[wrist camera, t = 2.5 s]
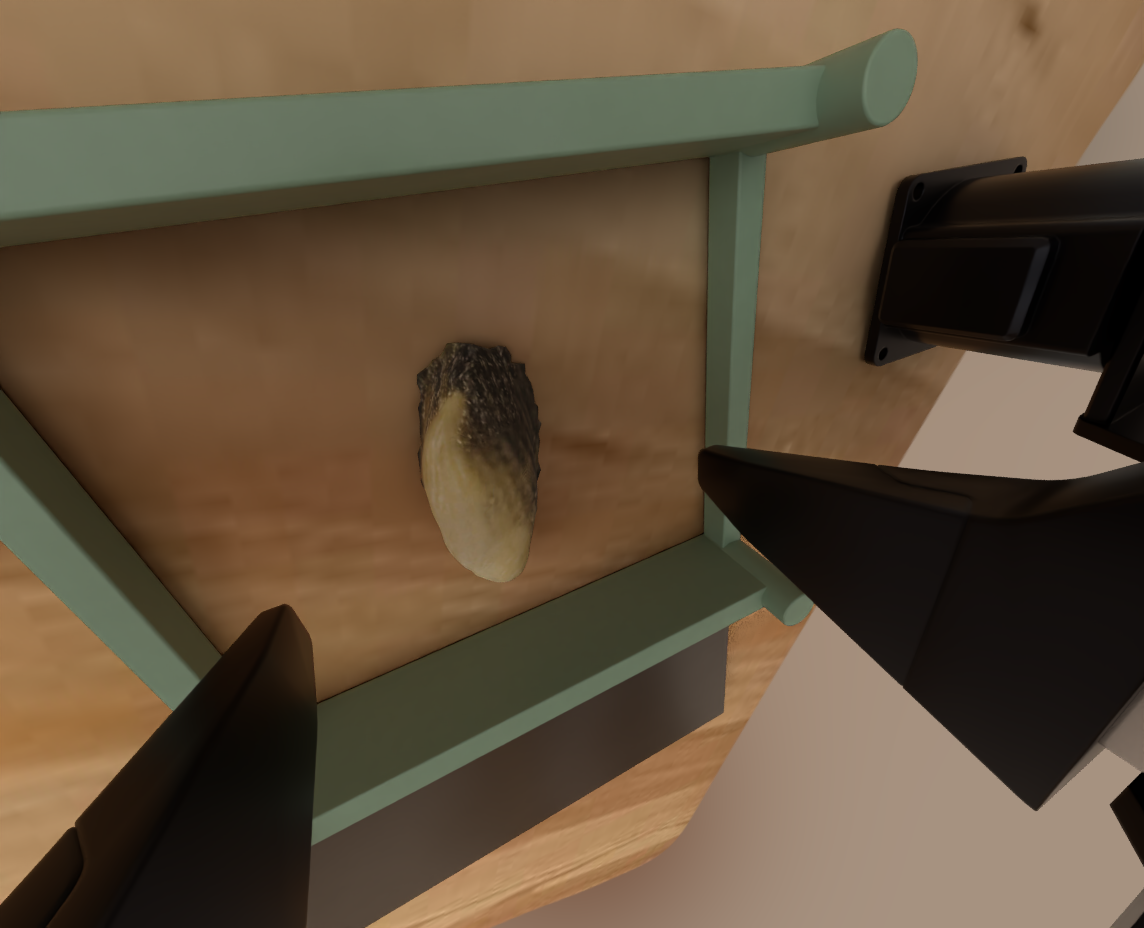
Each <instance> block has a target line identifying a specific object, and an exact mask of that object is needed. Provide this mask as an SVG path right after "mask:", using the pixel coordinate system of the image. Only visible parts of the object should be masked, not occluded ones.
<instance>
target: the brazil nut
mask: <svg viewBox="0 0 1144 928" xmlns="http://www.w3.org/2000/svg"><path fill="white" fill-rule="evenodd" d="M417 384H418V387H419V389H420V393H421V401H420V404H419V407H418V410H419V416H420V435H421V446H420V449H419V452H418V458H419V466H420V473H421V483H422V485H423V487H424V489H425V491H426V495H427V498H428V501H429V504H430V508H431V511H432V514H433V516H434V518H435V520H436V522H437V524H438V526H439V528H440V531H441V533H442V536H443V539H444V543H445V545H446V547H447V548H448V550H449V552H450V553H451V554H452V555H453V556H454V557H455V559H456V560H457V561H458V562H459V563H460V564H462V565H463V566H464V567H465V568H466V569H469V570H471V571H472V572H473V573H474V574H475V575H477V576H478V577H482V578H485V579H487V580H490V581H495V582H508V581H511V580H513V579H515V578H516V577H517V576H519V575H520V573H521V572H522V571H523V569H524V567H525V565H526V562H527V559H528V555H529V549H530V542H531V538H532V533H533V527H534V521H535V515H536V511H537V480H538V477H539V474H540V471H541V469H540V466H539V463H538V452H539V443H540V440H539V430H540V426H541V422H540V421H539V420H538V406H537V405H536V404H535V400H534V394H533V389H532V386H531V382H530V381H529V379H528V377H527V376H526V374H525V364H518V363H511V355H510V353H509V351H508V350H507V348H506V347H504V346H496V347H494V348H491V349H487V348H484V347H481V346H477V345H474V344H469V343H450V344H447V345H446V347H445V349H444V350H443V352H442V354H441V355H440V356H439V357H438V358H436V359H434V360H433V361H432V362H431V363H430V365H429V366H428V367H427V368H425V369H424V370H423V371H421V372H420V373H419V374H417Z"/></svg>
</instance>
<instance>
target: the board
mask: <svg viewBox="0 0 1144 928" xmlns="http://www.w3.org/2000/svg"><path fill="white" fill-rule="evenodd" d="M728 629H729V626H727V627H725V628H723V629H721V630H719V631H717V632H716V633H714V634H712V635H710V636H708V637H706V638H704V639H702V640H700V641H699V642H697V643H695V644H693V645H691V646H689V647H687V648H685V649H683V650H681V651H680V652H678V653H676V654H674V655H672V656H670V657H668V658H666V659H664V660H663V661H661V662H659V663H657V664H655V665H653V666H651V667H649V668H647V669H646V670H644V671H642V672H640V673H638V674H636V675H634V676H632V677H630V678H628V679H627V680H625V681H623V682H621V683H619V684H617V685H615V686H613V687H611V688H610V689H608V690H606V691H604V692H602V693H600V694H598V695H596V696H594V697H593V698H591V699H589V700H587V701H585V702H583V703H581V704H579V705H577V706H575V707H574V708H572V709H570V710H568V711H566V712H564V713H562V714H560V715H558V716H557V717H555V718H553V719H551V720H549V721H547V722H545V723H543V724H541V725H539V726H538V727H536V728H534V729H532V730H530V731H528V732H526V733H524V734H522V735H521V736H519V737H517V738H515V739H513V740H511V741H509V742H507V743H505V744H504V745H502V746H500V747H498V748H496V749H494V750H492V751H490V752H488V753H486V754H485V755H483V756H481V757H479V758H477V759H475V760H473V761H471V762H469V763H468V764H466V765H464V766H462V767H460V768H458V769H456V770H454V771H452V772H451V773H449V774H447V775H445V776H443V777H441V778H439V779H437V780H435V781H433V782H432V783H430V784H428V785H426V786H424V787H422V788H420V789H418V790H416V791H415V792H413V793H411V794H409V795H407V796H405V797H403V798H401V799H399V800H398V801H396V802H394V803H392V804H390V805H388V806H386V807H384V808H382V809H380V810H379V811H377V812H375V813H373V814H371V815H369V816H367V817H365V818H363V819H362V820H360V821H358V822H356V823H354V824H352V825H350V826H348V827H346V828H344V829H343V830H341V831H339V832H337V833H335V834H333V835H331V836H329V837H327V838H326V839H324V840H322V841H320V842H318V843H316V844H314V845H312V846H311V858H310V876H309V894H308V911H307V928H365V927H367V926H368V925H370V924H372V923H373V922H375V921H377V920H378V919H380V918H382V917H383V916H385V915H387V914H388V913H390V912H392V911H393V910H395V909H397V908H399V907H400V906H402V905H404V904H405V903H407V902H409V901H410V900H412V899H414V898H415V897H417V896H419V895H420V894H422V893H424V892H425V891H427V890H429V889H430V888H432V887H434V886H435V885H437V884H439V883H440V882H442V881H444V880H445V879H447V878H449V877H450V876H452V875H454V874H455V873H457V872H459V871H460V870H462V869H464V868H465V867H467V866H469V865H470V864H472V863H474V862H475V861H477V860H479V859H480V858H482V857H484V856H485V855H487V854H489V853H490V852H492V851H494V850H495V849H497V848H499V847H500V846H502V845H504V844H505V843H507V842H509V841H510V840H512V839H514V838H515V837H517V836H519V835H520V834H522V833H524V832H525V831H527V830H529V829H530V828H532V827H534V826H535V825H537V824H539V823H540V822H542V821H544V820H545V819H547V818H549V817H550V816H552V815H554V814H555V813H557V812H559V811H560V810H562V809H564V808H565V807H567V806H569V805H570V804H572V803H574V802H575V801H577V800H579V799H580V798H582V797H584V796H585V795H587V794H589V793H590V792H592V791H594V790H595V789H597V788H599V787H600V786H602V785H604V784H605V783H607V782H609V781H610V780H612V779H614V778H615V777H617V776H619V775H620V774H622V773H624V772H625V771H627V770H629V769H630V768H632V767H634V766H635V765H637V764H639V763H640V762H642V761H644V760H645V759H647V758H649V757H650V756H652V755H654V754H655V753H657V752H659V751H660V750H662V749H664V748H665V747H667V746H669V745H670V744H672V743H674V742H675V741H677V740H679V739H680V738H682V737H684V736H685V735H687V734H689V733H690V732H692V731H694V730H695V729H697V728H699V727H700V726H702V725H704V724H705V723H707V722H709V721H710V720H712V719H714V718H715V717H717V716H719V715H720V714H722V713H723V712H724V697H725V680H726V663H727V646H728Z"/></svg>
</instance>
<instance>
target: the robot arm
mask: <svg viewBox="0 0 1144 928" xmlns="http://www.w3.org/2000/svg"><path fill="white" fill-rule="evenodd" d="M1026 167H1027V160H1026V158H1025V157H1016V158H1009V159H1003V160H997V161H991V162H985V163H980V164H974V165H968V166H962V167H957V168H951V169H945V170H939V171H933V172H928V173H922V174H916V175H910V176H908V177H906V178H905V179H904V180H903V181H902V182H901V184H900V186H899V188H898V190H897V194H896V198H895V203H894V208H893V213H892V218H891V223H890V228H889V234H888V239H887V244H886V249H885V254H884V259H883V264H882V269H881V274H880V279H879V284H878V289H877V295H876V300H875V305H874V310H873V315H872V320H871V325H870V330H869V335H868V340H867V345H866V350H865V358H864V359H865V362H866V363H867V364H870V365H874V366H882V365H885V364H888V363H891V362H893V361H896V360H899V359H902V358H905V357H907V356H910V355H913V354H916V353H919V352H922V351H924V350H927V349H930V348H933V347H936V346H943V347H949V348H955V349H961V350H967V351H974V352H980V353H986V354H992V355H998V356H1004V357H1010V358H1017V359H1022V360H1028V361H1034V362H1041V363H1046V364H1053V365H1059V366H1065V367H1070V368H1077V369H1083V370H1089V371H1095V372H1101V373H1102V374H1101V377H1100V379H1099V381H1098V384H1097V386H1096V389H1095V391H1094V393H1093V395H1092V397H1091V400H1090V402H1089V405H1088V407H1087V409H1086V411H1085V413H1083V414H1082V415H1080V416H1079V418H1078V420H1077V423H1076V425H1075V427H1074V430H1073V432H1074V433H1075V434H1077V435H1079V436H1081V437H1084V438H1086V439H1088V440H1091V441H1093V442H1095V443H1097V444H1100V445H1102V446H1105V447H1107V448H1109V449H1111V450H1114V451H1116V452H1118V453H1121V454H1123V455H1125V456H1127V457H1130V458H1132V459H1135V460H1137V461H1139V462H1141V463H1138V464H1134V465H1130V466H1126V467H1123V468H1119V469H1115V470H1112V471H1108V472H1104V473H1101V474H1097V475H1093V476H1088V477H1082V478H1077V479H1067V480H1032V479H1020V478H1008V477H995V476H984V475H971V474H960V473H949V472H938V471H927V470H919V469H910V468H901V467H893V466H885V465H878V466H877V465H875V464H868V463H860V462H852V461H844V460H836V459H828V458H820V457H812V456H804V455H796V454H788V453H780V452H772V451H764V450H756V449H748V448H740V447H732V446H724V445H712V446H709V447H706V448H704V449H702V450H700V452H699V454H698V481H699V484H700V487H701V488H702V490H703V491H704V492H705V493H706V494H707V495H708V497H709V498H710V499H711V500H712V501H713V502H714V504H715V505H716V506H717V507H718V508H719V509H720V511H721V512H722V513H723V514H724V515H725V516H726V518H727V519H728V520H729V521H730V522H731V523H732V525H733V526H734V527H735V528H736V529H737V530H738V531H739V532H740V533H741V534H742V535H743V536H744V537H745V538H746V539H747V540H748V541H749V542H750V543H751V544H752V545H753V546H754V547H755V548H756V549H757V550H758V551H759V552H761V553H762V554H763V555H764V556H765V557H766V558H767V559H768V560H769V561H770V562H771V563H772V564H773V565H774V566H775V567H776V568H777V569H778V570H780V571H781V572H782V573H783V574H784V575H785V576H786V577H787V578H788V579H789V580H790V581H791V582H792V583H793V584H794V585H795V586H796V587H797V588H799V589H800V590H801V591H802V592H803V593H804V594H805V595H806V596H807V597H808V598H809V599H810V600H811V601H812V602H813V603H814V604H815V605H816V606H818V607H819V608H820V609H821V610H822V611H823V612H824V613H825V614H826V615H827V616H828V617H829V618H830V619H831V620H832V621H834V623H836V624H837V625H838V626H839V627H840V628H841V629H842V630H843V631H844V632H845V633H846V634H847V635H848V636H849V637H850V638H851V639H852V640H853V641H855V642H856V643H857V644H858V645H859V646H860V647H861V648H862V649H863V650H864V651H865V652H866V653H867V654H868V655H869V656H870V657H872V658H873V659H874V660H875V661H876V662H877V663H878V664H879V665H880V666H881V667H882V668H883V669H884V670H885V671H886V672H887V673H888V674H889V675H890V676H891V677H893V678H894V679H895V680H896V681H897V682H898V683H899V684H900V685H902V686H903V688H904V689H905V690H906V691H907V692H908V693H909V694H910V695H911V696H912V697H913V698H914V699H915V700H916V701H918V702H919V703H920V704H921V705H922V706H923V707H924V708H925V709H926V710H927V711H928V712H929V713H930V714H931V715H932V716H933V717H934V718H935V719H937V720H938V721H939V722H940V723H941V724H942V725H943V726H944V727H945V728H946V729H947V730H948V731H949V732H950V733H951V734H952V735H953V736H954V737H955V738H957V739H958V740H959V741H960V742H961V743H962V744H963V745H964V746H965V747H966V748H967V749H968V750H969V751H970V752H971V753H972V754H973V755H974V756H976V757H977V758H978V759H979V760H980V761H981V762H982V763H983V764H984V765H985V766H986V767H987V768H988V769H989V770H990V771H991V772H992V773H993V774H994V775H996V776H997V777H998V778H999V779H1000V780H1001V781H1002V782H1003V783H1004V784H1005V785H1006V786H1007V787H1008V788H1009V789H1010V790H1012V791H1013V793H1015V794H1016V795H1017V796H1018V797H1019V798H1020V799H1021V800H1022V801H1024V803H1026V804H1027V805H1028V806H1029V807H1031V808H1032V809H1033V810H1035V811H1038V810H1039V809H1040V808H1041V807H1042V806H1043V805H1044V804H1045V803H1046V802H1047V801H1049V800H1050V799H1051V798H1052V797H1053V796H1054V795H1055V794H1056V793H1057V792H1058V791H1059V790H1060V789H1062V788H1063V787H1064V786H1065V785H1066V784H1067V783H1068V782H1069V781H1070V780H1071V779H1072V778H1073V777H1075V776H1076V775H1077V774H1078V773H1079V772H1080V771H1081V770H1082V769H1083V768H1084V767H1085V766H1086V765H1087V764H1089V763H1090V762H1091V761H1092V760H1093V759H1094V758H1095V757H1096V756H1097V755H1098V754H1099V753H1100V752H1101V751H1103V750H1104V749H1105V748H1107V749H1108V750H1110V751H1111V752H1113V753H1114V754H1116V755H1117V756H1119V757H1120V758H1122V759H1123V760H1125V761H1126V762H1128V763H1129V764H1131V765H1132V766H1134V767H1135V768H1137V769H1138V770H1140V771H1141V774H1139V775H1138V776H1137V777H1136V778H1135V780H1133V781H1132V782H1131V783H1130V785H1128V786H1127V787H1126V788H1125V789H1124V790H1123V792H1121V794H1120V795H1119V796H1118V797H1117V798H1116V799H1115V800H1114V801H1113V802H1112V803H1111V804H1110V806H1111V808H1112V810H1113V812H1114V814H1115V815H1116V817H1117V819H1118V821H1119V823H1120V825H1121V826H1122V828H1123V830H1124V832H1125V834H1126V835H1127V837H1128V839H1129V841H1130V843H1131V845H1132V846H1133V848H1134V850H1135V852H1136V854H1137V855H1138V857H1139V859H1140V861H1141V863H1142V864H1143V866H1144V158H1143V159H1134V160H1126V161H1118V162H1109V163H1100V164H1091V165H1084V166H1074V167H1065V168H1057V169H1048V170H1040V171H1031V172H1026ZM317 730H318V719H317V702H316V688H315V674H314V661H313V647H312V641H311V638H310V635H309V633H308V631H307V630H306V628H305V627H304V625H303V624H302V622H301V621H300V619H299V618H298V616H297V615H296V613H295V611H294V610H293V609H292V607H290V606H289V605H287V604H282V605H280V606H277V607H274V608H271V609H269V610H266V611H263V612H262V613H260V614H259V615H258V616H257V617H256V618H255V620H254V621H253V622H252V623H251V624H250V625H249V626H248V627H247V629H246V630H245V631H244V632H243V633H242V634H241V635H240V637H239V638H238V639H237V640H236V641H235V642H234V643H233V644H232V646H231V647H230V648H229V649H228V650H227V651H226V652H225V653H224V655H223V656H222V657H221V658H220V659H219V660H218V661H217V662H216V664H215V665H214V666H213V667H212V668H211V669H210V670H209V671H208V673H207V674H206V675H205V676H204V677H203V678H202V679H201V680H200V682H199V683H198V684H197V685H196V686H195V687H194V688H193V690H192V691H191V692H190V693H189V694H188V695H187V696H186V697H185V699H184V700H183V701H182V702H181V703H180V704H179V705H178V706H177V708H176V709H175V710H174V711H173V712H172V713H171V714H170V715H169V717H168V718H167V719H166V720H165V721H164V722H163V723H162V724H161V726H160V727H159V728H158V729H157V730H156V731H155V732H154V733H153V735H152V736H151V737H150V738H149V739H148V740H147V741H146V742H145V744H144V745H143V746H142V747H141V748H140V749H139V750H138V751H137V753H136V754H135V755H134V756H133V757H132V758H131V759H130V760H129V762H128V763H127V764H126V765H125V766H124V767H123V768H122V769H121V771H120V772H119V773H118V774H117V775H116V776H115V777H114V779H113V780H112V781H111V782H110V783H109V784H108V785H107V786H106V788H105V789H104V790H103V791H102V792H101V793H100V794H99V795H98V797H97V798H96V799H95V800H94V801H93V802H92V803H91V804H90V806H89V807H88V808H87V809H86V810H85V811H84V812H83V813H82V815H81V816H80V817H79V818H78V819H77V820H76V822H75V827H72V828H70V829H68V830H67V831H66V832H65V833H64V835H63V836H62V837H61V838H60V839H59V840H58V841H57V843H56V844H55V845H54V846H53V847H52V848H51V849H50V851H49V852H48V853H47V854H46V855H45V856H44V857H43V858H42V860H41V861H40V862H39V863H38V864H37V865H36V866H35V867H34V868H33V870H32V871H31V872H30V873H29V874H28V875H27V876H26V877H25V878H24V879H23V881H22V882H21V883H20V884H19V885H18V886H17V887H16V888H15V889H14V890H13V892H12V893H11V894H10V895H9V896H8V897H7V898H6V899H5V900H4V901H3V903H2V904H1V905H0V928H307V911H308V894H309V876H310V858H311V840H312V823H313V805H314V787H315V769H316V752H317ZM1110 928H1144V889H1143V890H1142V891H1141V892H1140V893H1139V895H1138V896H1137V897H1136V898H1135V899H1134V900H1133V902H1132V903H1131V904H1130V905H1129V906H1128V907H1127V909H1126V910H1125V911H1124V912H1123V913H1122V914H1121V915H1120V917H1119V918H1118V919H1117V920H1116V921H1115V922H1114V924H1113V925H1112V926H1111V927H1110Z"/></svg>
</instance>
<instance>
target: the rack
mask: <svg viewBox="0 0 1144 928" xmlns="http://www.w3.org/2000/svg"><path fill="white" fill-rule="evenodd" d="M917 63H918V58H917V49H916V45H915V42H914V39H913V37H912V36H911V34H910V33H909V32H907V31H906V30H903V29H892V30H890V31H887V32H885V33H883V34H880V35H878V36H875V37H873V38H870V39H868V40H866V41H863V42H861V43H858V44H856V45H853V46H851V47H849V48H846V49H844V50H841V51H839V52H836V53H834V54H831V55H829V56H827V57H824V58H822V59H819V60H817V61H814V62H812V63H810V64H807V65H805V66H794V67H776V68H759V69H741V70H723V71H706V72H688V73H671V74H653V75H635V76H618V77H600V78H583V79H565V80H547V81H530V82H512V83H494V84H477V85H459V86H442V87H424V88H406V89H389V90H371V91H353V92H336V93H318V94H301V95H283V96H265V97H248V98H230V99H212V100H195V101H177V102H160V103H142V104H124V105H107V106H89V107H71V108H54V109H36V110H19V111H1V112H0V248H1V247H8V246H16V245H24V244H32V243H40V242H47V241H55V240H63V239H71V238H79V237H86V236H94V235H102V234H110V233H118V232H125V231H133V230H141V229H149V228H157V227H165V226H172V225H180V224H188V223H196V222H204V221H211V220H219V219H227V218H235V217H243V216H250V215H258V214H266V213H274V212H282V211H289V210H297V209H305V208H313V207H321V206H328V205H336V204H344V203H352V202H360V201H368V200H375V199H383V198H391V197H399V196H407V195H414V194H422V193H430V192H438V191H446V190H453V189H461V188H469V187H477V186H485V185H492V184H500V183H508V182H516V181H524V180H531V179H539V178H547V177H555V176H563V175H571V174H578V173H586V172H594V171H602V170H610V169H617V168H625V167H633V166H641V165H649V164H656V163H664V162H672V161H680V160H688V159H695V158H703V157H709V158H710V170H709V235H708V300H707V364H706V429H705V448H706V447H709V446H712V445H724V446H732V447H740V448H747V434H748V419H749V404H750V390H751V375H752V361H753V346H754V332H755V317H756V302H757V288H758V273H759V259H760V244H761V229H762V215H763V200H764V186H765V171H766V156H767V153H772V152H776V151H780V150H784V149H789V148H793V147H797V146H802V145H806V144H810V143H814V142H819V141H823V140H827V139H832V138H836V137H840V136H844V135H849V134H853V133H857V132H861V131H866V130H870V129H874V128H879V127H883V126H885V125H887V124H889V123H890V122H892V121H893V120H894V119H896V118H897V117H898V115H899V114H900V113H901V112H902V110H903V109H904V107H905V106H906V104H907V102H908V100H909V98H910V95H911V93H912V90H913V87H914V83H915V79H916V74H917ZM740 536H741V533H740V532H739V531H738V530H737V529H736V528H735V527H734V526H733V525H732V523H731V522H730V521H729V520H728V519H727V518H726V516H725V515H724V514H723V513H722V512H721V511H720V509H719V508H718V507H717V506H716V505H715V504H714V502H713V501H712V500H711V499H710V498H709V497H708V495H707V494H706V493H704V534H702V535H700V536H698V537H695V538H693V539H691V540H688V541H686V542H684V543H682V544H679V545H677V546H675V547H673V548H670V549H668V550H666V551H663V552H661V553H659V554H657V555H654V556H652V557H650V558H648V559H645V560H643V561H641V562H639V563H636V564H634V565H632V566H629V567H627V568H625V569H623V570H620V571H618V572H616V573H614V574H611V575H609V576H607V577H605V578H602V579H600V580H598V581H595V582H593V583H591V584H589V585H586V586H584V587H582V588H580V589H577V590H575V591H573V592H570V593H568V594H566V595H564V596H561V597H559V598H557V599H555V600H552V601H550V602H548V603H546V604H543V605H541V606H539V607H536V608H534V609H532V610H530V611H527V612H525V613H523V614H521V615H518V616H516V617H514V618H512V619H509V620H507V621H505V622H502V623H500V624H498V625H496V626H493V627H491V628H489V629H487V630H484V631H482V632H480V633H478V634H475V635H473V636H471V637H468V638H466V639H464V640H462V641H459V642H457V643H455V644H453V645H450V646H448V647H446V648H443V649H441V650H439V651H437V652H434V653H432V654H430V655H428V656H425V657H423V658H421V659H419V660H416V661H414V662H412V663H409V664H407V665H405V666H403V667H400V668H398V669H396V670H394V671H391V672H389V673H387V674H385V675H382V676H380V677H378V678H375V679H373V680H371V681H369V682H366V683H364V684H362V685H360V686H357V687H355V688H353V689H350V690H348V691H346V692H344V693H341V694H339V695H337V696H335V697H332V698H330V699H328V700H326V701H323V702H321V703H319V704H317V719H318V730H317V752H316V769H315V787H314V805H313V823H312V840H311V846H312V845H314V844H316V843H318V842H320V841H322V840H324V839H326V838H327V837H329V836H331V835H333V834H335V833H337V832H339V831H341V830H343V829H344V828H346V827H348V826H350V825H352V824H354V823H356V822H358V821H360V820H362V819H363V818H365V817H367V816H369V815H371V814H373V813H375V812H377V811H379V810H380V809H382V808H384V807H386V806H388V805H390V804H392V803H394V802H396V801H398V800H399V799H401V798H403V797H405V796H407V795H409V794H411V793H413V792H415V791H416V790H418V789H420V788H422V787H424V786H426V785H428V784H430V783H432V782H433V781H435V780H437V779H439V778H441V777H443V776H445V775H447V774H449V773H451V772H452V771H454V770H456V769H458V768H460V767H462V766H464V765H466V764H468V763H469V762H471V761H473V760H475V759H477V758H479V757H481V756H483V755H485V754H486V753H488V752H490V751H492V750H494V749H496V748H498V747H500V746H502V745H504V744H505V743H507V742H509V741H511V740H513V739H515V738H517V737H519V736H521V735H522V734H524V733H526V732H528V731H530V730H532V729H534V728H536V727H538V726H539V725H541V724H543V723H545V722H547V721H549V720H551V719H553V718H555V717H557V716H558V715H560V714H562V713H564V712H566V711H568V710H570V709H572V708H574V707H575V706H577V705H579V704H581V703H583V702H585V701H587V700H589V699H591V698H593V697H594V696H596V695H598V694H600V693H602V692H604V691H606V690H608V689H610V688H611V687H613V686H615V685H617V684H619V683H621V682H623V681H625V680H627V679H628V678H630V677H632V676H634V675H636V674H638V673H640V672H642V671H644V670H646V669H647V668H649V667H651V666H653V665H655V664H657V663H659V662H661V661H663V660H664V659H666V658H668V657H670V656H672V655H674V654H676V653H678V652H680V651H681V650H683V649H685V648H687V647H689V646H691V645H693V644H695V643H697V642H699V641H700V640H702V639H704V638H706V637H708V636H710V635H712V634H714V633H716V632H717V631H719V630H721V629H723V628H725V627H727V626H729V625H731V624H733V623H735V622H736V621H738V620H740V619H742V618H744V617H746V616H748V615H750V614H752V613H753V612H755V611H757V610H759V609H761V608H763V607H765V608H766V609H767V610H768V611H770V612H771V613H772V614H773V615H774V616H775V617H776V618H778V619H779V620H780V621H781V622H782V623H783V624H785V625H787V626H793V625H795V624H797V623H799V622H800V621H802V620H803V619H804V618H805V617H806V616H807V615H808V613H809V612H810V610H811V609H812V607H813V604H814V603H813V602H812V601H811V600H810V599H809V598H808V597H807V596H806V595H805V594H804V593H803V592H802V591H801V590H800V589H799V588H797V587H796V586H795V585H794V584H793V583H792V582H791V581H790V580H789V579H788V578H787V577H786V576H785V575H784V574H783V573H782V572H781V571H780V570H778V569H777V568H776V567H775V566H774V565H773V564H772V563H770V562H769V561H768V560H766V559H765V558H764V557H762V556H761V555H760V554H758V553H757V552H756V551H754V550H753V549H752V548H750V547H749V546H748V545H746V544H745V543H744V542H742V541H741V540H740ZM0 540H1V541H2V542H3V543H4V544H5V545H6V546H7V547H8V548H9V549H10V550H11V551H12V552H13V553H14V554H15V555H16V556H17V557H18V558H19V559H20V560H21V561H22V562H23V563H24V564H25V565H26V566H27V567H28V568H29V569H30V570H31V571H32V572H33V573H34V574H35V575H36V576H37V577H38V578H39V579H40V580H41V581H42V582H43V583H44V584H45V585H46V586H47V587H48V588H49V589H50V590H51V591H52V592H53V593H54V594H55V595H56V596H57V597H58V598H59V599H60V600H61V601H62V602H63V603H64V604H65V605H66V606H67V607H68V608H69V609H70V610H71V611H72V612H73V613H74V614H75V615H76V616H77V617H78V618H79V619H80V620H81V621H82V622H83V623H84V624H85V625H86V626H87V627H88V628H89V629H91V630H92V631H93V632H94V633H95V634H96V635H97V636H98V637H99V638H100V639H101V640H102V641H103V642H104V643H105V644H106V645H107V646H108V647H109V648H110V649H111V650H112V651H113V652H114V653H115V654H116V655H117V656H118V657H119V658H120V659H121V660H122V661H123V662H124V663H125V664H126V665H127V666H128V667H129V668H130V669H131V670H132V671H133V672H134V673H135V674H136V675H137V676H138V677H139V678H140V679H141V680H142V681H143V682H144V683H145V684H146V685H147V686H148V687H149V688H150V689H151V690H152V691H153V692H154V693H155V694H156V695H157V696H158V697H159V698H160V699H161V700H162V701H163V702H164V703H165V704H166V705H167V706H168V707H169V708H170V709H171V710H172V711H174V710H175V709H176V708H177V706H178V705H179V704H180V703H181V702H182V701H183V700H184V699H185V697H186V696H187V695H188V694H189V693H190V692H191V691H192V690H193V688H194V687H195V686H196V685H197V684H198V683H199V682H200V680H201V679H202V678H203V677H204V676H205V675H206V674H207V673H208V671H209V670H210V669H211V668H212V667H213V666H214V665H215V664H216V662H217V661H218V660H219V659H220V658H221V657H222V656H221V655H220V654H219V652H218V651H217V650H216V649H215V647H214V646H213V645H212V644H211V643H210V641H209V640H208V639H207V638H206V637H205V635H204V634H203V633H202V632H201V631H200V629H199V628H198V627H197V626H196V624H195V623H194V622H193V621H192V620H191V618H190V617H189V616H188V615H187V614H186V612H185V611H184V610H183V609H182V608H181V606H180V605H179V604H178V603H177V601H176V600H175V599H174V598H173V597H172V595H171V594H170V593H169V592H168V591H167V589H166V588H165V587H164V586H163V585H162V583H161V582H160V581H159V580H158V578H157V577H156V576H155V575H154V574H153V572H152V571H151V570H150V569H149V568H148V566H147V565H146V564H145V563H144V562H143V560H142V559H141V558H140V557H139V556H138V554H137V553H136V552H135V551H134V549H133V548H132V547H131V546H130V545H129V543H128V542H127V541H126V540H125V539H124V537H123V536H122V535H121V534H120V533H119V531H118V530H117V529H116V528H115V526H114V525H113V524H112V523H111V522H110V520H109V519H108V518H107V517H106V516H105V514H104V513H103V512H102V511H101V510H100V508H99V507H98V506H97V505H96V503H95V502H94V501H93V500H92V499H91V497H90V496H89V495H88V494H87V493H86V491H85V490H84V489H83V488H82V487H81V485H80V484H79V483H78V482H77V480H76V479H75V478H74V477H73V476H72V474H71V473H70V472H69V471H68V470H67V468H66V467H65V466H64V465H63V464H62V462H61V461H60V460H59V459H58V457H57V456H56V455H55V454H54V453H53V451H52V450H51V449H50V448H49V447H48V445H47V444H46V443H45V442H44V441H43V439H42V438H41V437H40V436H39V435H38V433H37V432H36V431H35V430H34V428H33V427H32V426H31V425H30V424H29V422H28V421H27V420H26V419H25V418H24V416H23V415H22V414H21V413H20V412H19V410H18V409H17V408H16V407H15V405H14V404H13V403H12V402H11V401H10V399H9V398H8V397H7V396H6V395H5V393H4V392H3V391H2V390H1V389H0Z"/></svg>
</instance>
